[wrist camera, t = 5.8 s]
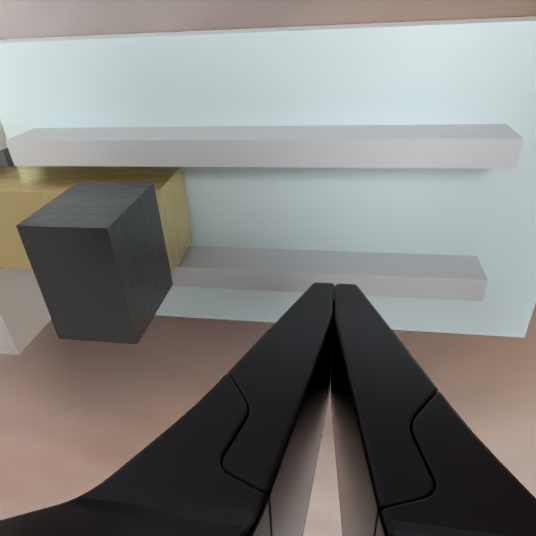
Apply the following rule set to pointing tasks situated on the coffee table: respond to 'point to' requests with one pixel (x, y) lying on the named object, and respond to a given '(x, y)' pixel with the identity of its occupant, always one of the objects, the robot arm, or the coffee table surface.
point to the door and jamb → (304, 162)
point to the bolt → (96, 242)
